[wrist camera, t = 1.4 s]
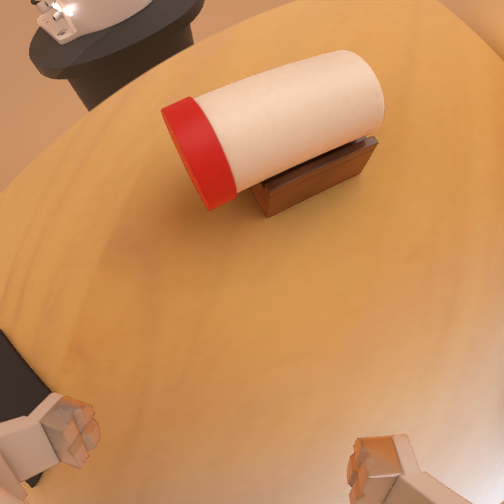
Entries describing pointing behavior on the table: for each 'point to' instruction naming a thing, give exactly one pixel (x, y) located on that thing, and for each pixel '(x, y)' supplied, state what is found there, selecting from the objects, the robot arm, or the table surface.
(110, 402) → the table surface
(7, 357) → the mat
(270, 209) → the cradle
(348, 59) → the container
